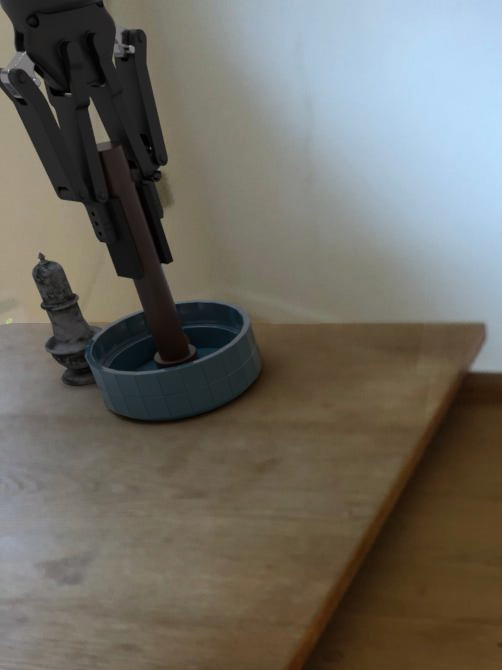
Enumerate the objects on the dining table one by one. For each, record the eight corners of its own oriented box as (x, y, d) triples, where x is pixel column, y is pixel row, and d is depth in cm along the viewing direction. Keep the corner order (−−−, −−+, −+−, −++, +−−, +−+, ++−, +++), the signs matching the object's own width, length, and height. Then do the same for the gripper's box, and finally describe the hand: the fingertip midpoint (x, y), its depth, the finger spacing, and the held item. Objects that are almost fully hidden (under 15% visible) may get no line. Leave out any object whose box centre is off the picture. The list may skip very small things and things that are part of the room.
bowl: (82, 430, 87) (61, 380, 84) (131, 353, 98) (114, 306, 95) (245, 418, 86) (229, 367, 82) (276, 341, 97) (263, 293, 93)
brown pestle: (153, 379, 89) (72, 156, 76) (165, 359, 92) (88, 141, 79) (195, 376, 89) (120, 151, 76) (205, 356, 92) (135, 136, 79)
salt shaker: (130, 362, 97) (85, 242, 88) (91, 390, 93) (40, 267, 85) (86, 355, 99) (38, 238, 91) (46, 383, 95) (-8, 262, 87)
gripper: (-25, -37, 62) (107, 312, 78) (151, -79, 71) (237, 239, 87) (-93, -34, 65) (47, 299, 81) (84, -76, 75) (179, 231, 91)
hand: (145, 268), depth 84 cm, fingers closed on brown pestle, 3 cm apart
